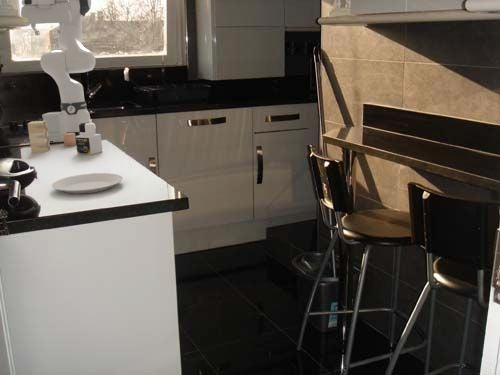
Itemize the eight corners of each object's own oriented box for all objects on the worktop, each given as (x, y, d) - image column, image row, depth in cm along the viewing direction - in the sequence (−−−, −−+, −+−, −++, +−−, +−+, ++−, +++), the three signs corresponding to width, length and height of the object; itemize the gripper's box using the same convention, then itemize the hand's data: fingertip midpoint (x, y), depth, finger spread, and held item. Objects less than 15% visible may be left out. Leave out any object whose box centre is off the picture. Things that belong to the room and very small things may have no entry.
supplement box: (68, 139, 268) (64, 111, 265) (61, 142, 261) (57, 113, 258) (52, 139, 269) (48, 112, 266) (45, 142, 262) (41, 114, 259)
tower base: (35, 150, 246) (34, 140, 245) (50, 149, 246) (48, 139, 245) (31, 152, 240) (30, 143, 239) (46, 152, 240) (45, 142, 239)
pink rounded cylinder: (65, 144, 254) (64, 133, 253) (77, 144, 255) (76, 132, 253) (63, 146, 250) (61, 135, 248) (75, 146, 250) (73, 134, 249)
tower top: (32, 131, 244) (31, 121, 243) (47, 130, 244) (46, 120, 243) (28, 133, 238) (27, 123, 237) (43, 132, 238) (42, 122, 237)
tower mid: (34, 140, 245) (32, 131, 244) (49, 139, 245) (47, 130, 244) (30, 143, 239) (28, 133, 238) (45, 142, 239) (43, 132, 238)
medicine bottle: (76, 154, 232) (73, 124, 229) (89, 150, 238) (86, 121, 235) (90, 155, 229) (87, 124, 226) (103, 151, 235) (99, 121, 232)
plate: (67, 202, 165) (66, 194, 165) (43, 188, 182) (42, 181, 181) (134, 188, 177) (134, 181, 176) (107, 176, 193) (106, 170, 193)
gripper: (71, -1, 250) (75, 33, 254) (22, 1, 249) (26, 35, 253) (67, -2, 244) (71, 33, 248) (17, 1, 243) (22, 35, 247)
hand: (48, 34), depth 250 cm, fingers open, 8 cm apart
